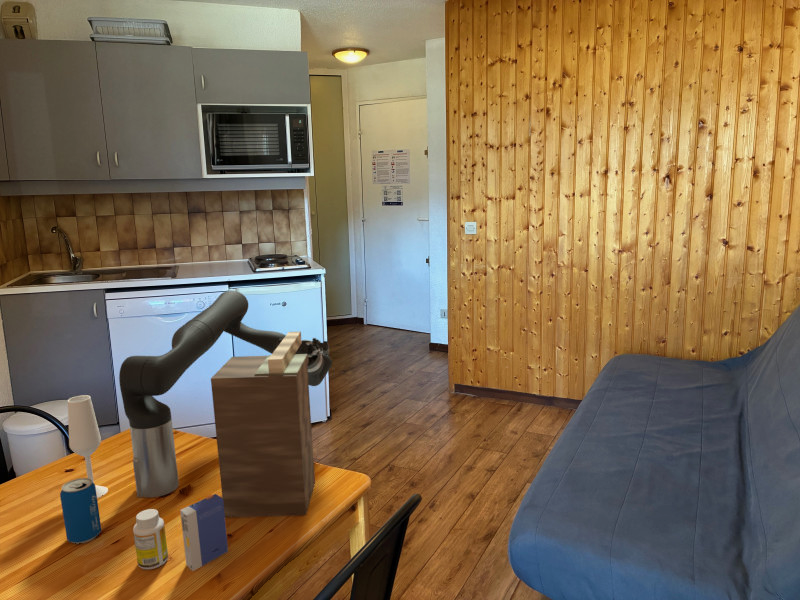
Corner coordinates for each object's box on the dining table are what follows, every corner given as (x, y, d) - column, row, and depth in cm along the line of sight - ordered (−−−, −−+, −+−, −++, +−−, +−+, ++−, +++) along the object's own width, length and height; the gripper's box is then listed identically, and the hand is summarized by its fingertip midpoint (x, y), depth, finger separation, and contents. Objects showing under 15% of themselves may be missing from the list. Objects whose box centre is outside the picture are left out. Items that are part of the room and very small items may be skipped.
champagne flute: (75, 503, 139) (61, 405, 134) (78, 490, 145) (64, 396, 140) (107, 496, 141) (94, 400, 137) (108, 483, 147) (95, 392, 143)
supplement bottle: (159, 549, 119) (153, 503, 117) (174, 560, 116) (168, 512, 114) (132, 563, 115) (126, 515, 113) (146, 575, 112) (140, 525, 110)
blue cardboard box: (220, 546, 120) (215, 492, 118) (228, 551, 118) (222, 496, 116) (184, 565, 114) (178, 508, 112) (192, 571, 112) (185, 513, 110)
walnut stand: (243, 481, 146) (231, 355, 140) (316, 479, 146) (307, 352, 140) (224, 517, 130) (210, 376, 124) (306, 515, 130) (296, 373, 124)
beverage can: (87, 547, 121) (79, 493, 119) (60, 544, 122) (51, 491, 120) (108, 529, 127) (101, 477, 125) (82, 527, 129) (74, 475, 126)
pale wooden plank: (289, 343, 149) (288, 331, 148) (301, 343, 149) (300, 331, 148) (268, 373, 125) (267, 359, 125) (283, 372, 125) (282, 359, 125)
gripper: (282, 344, 167) (269, 328, 152) (333, 342, 167) (325, 327, 152) (281, 370, 165) (268, 357, 150) (332, 369, 165) (324, 355, 149)
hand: (297, 342), depth 151 cm, fingers open, 8 cm apart
